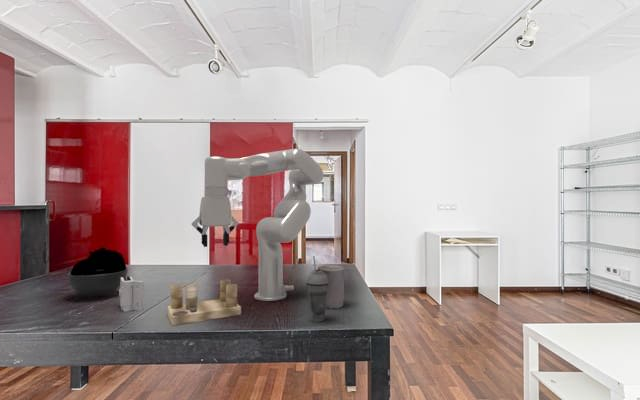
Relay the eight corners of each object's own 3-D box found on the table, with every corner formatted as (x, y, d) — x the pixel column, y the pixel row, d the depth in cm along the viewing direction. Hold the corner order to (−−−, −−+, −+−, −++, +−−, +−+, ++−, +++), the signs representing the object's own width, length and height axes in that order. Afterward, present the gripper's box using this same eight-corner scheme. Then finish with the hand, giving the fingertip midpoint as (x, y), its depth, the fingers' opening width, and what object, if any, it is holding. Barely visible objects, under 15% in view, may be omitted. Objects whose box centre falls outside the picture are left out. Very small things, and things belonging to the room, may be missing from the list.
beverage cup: (326, 324, 100) (326, 258, 101) (303, 322, 102) (303, 257, 102) (330, 316, 108) (330, 255, 108) (308, 315, 109) (309, 254, 110)
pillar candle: (311, 305, 120) (312, 264, 120) (329, 299, 127) (329, 260, 127) (331, 311, 113) (332, 267, 114) (349, 305, 121) (349, 264, 121)
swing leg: (200, 310, 105) (200, 288, 105) (188, 312, 103) (188, 289, 103) (196, 305, 110) (196, 284, 110) (184, 307, 108) (185, 285, 109)
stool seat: (230, 304, 121) (230, 278, 121) (240, 314, 110) (241, 285, 110) (167, 313, 110) (167, 285, 110) (172, 325, 99) (172, 293, 99)
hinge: (143, 310, 114) (144, 281, 114) (126, 314, 110) (126, 284, 110) (129, 302, 123) (130, 275, 123) (113, 305, 119) (113, 277, 119)
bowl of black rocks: (106, 303, 122) (107, 252, 122) (53, 303, 122) (54, 252, 123) (137, 290, 142) (138, 246, 142) (91, 289, 142) (92, 246, 143)
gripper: (237, 194, 120) (237, 243, 120) (187, 192, 111) (186, 246, 111) (244, 193, 114) (243, 245, 113) (191, 192, 105) (190, 248, 105)
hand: (215, 245), depth 112 cm, fingers open, 6 cm apart
